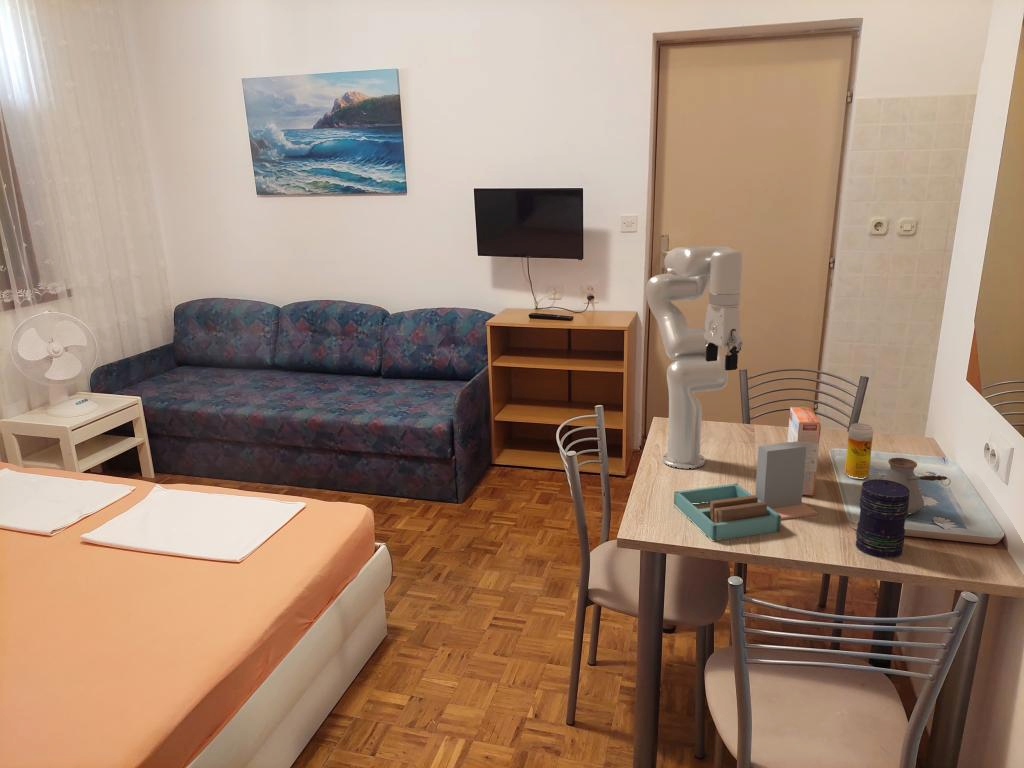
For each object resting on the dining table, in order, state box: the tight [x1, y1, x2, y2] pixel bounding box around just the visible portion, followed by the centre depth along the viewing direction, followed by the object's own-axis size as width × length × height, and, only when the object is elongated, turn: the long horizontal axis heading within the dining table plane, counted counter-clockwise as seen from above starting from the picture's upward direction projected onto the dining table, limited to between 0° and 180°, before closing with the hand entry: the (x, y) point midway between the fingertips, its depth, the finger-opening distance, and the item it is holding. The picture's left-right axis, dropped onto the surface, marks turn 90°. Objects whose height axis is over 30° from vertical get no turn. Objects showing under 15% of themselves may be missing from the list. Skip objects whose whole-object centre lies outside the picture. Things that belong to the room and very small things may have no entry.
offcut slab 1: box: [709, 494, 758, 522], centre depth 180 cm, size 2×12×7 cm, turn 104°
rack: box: [673, 483, 782, 541], centre depth 184 cm, size 20×18×4 cm
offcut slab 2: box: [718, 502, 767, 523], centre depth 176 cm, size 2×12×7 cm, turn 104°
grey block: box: [754, 441, 806, 509], centre depth 188 cm, size 4×11×16 cm, turn 104°
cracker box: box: [787, 406, 822, 497], centre depth 199 cm, size 14×6×21 cm, turn 168°
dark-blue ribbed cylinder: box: [855, 479, 910, 559], centre depth 166 cm, size 10×10×15 cm
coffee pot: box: [882, 457, 951, 514], centre depth 180 cm, size 21×12×15 cm, turn 8°
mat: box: [772, 501, 818, 521], centre depth 190 cm, size 14×13×1 cm
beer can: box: [844, 422, 874, 478], centre depth 205 cm, size 6×6×15 cm
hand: (720, 365), depth 189 cm, fingers open, 9 cm apart
